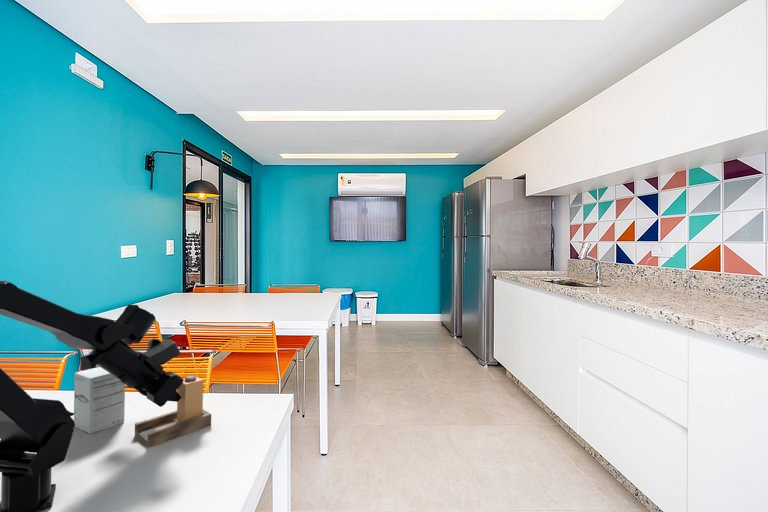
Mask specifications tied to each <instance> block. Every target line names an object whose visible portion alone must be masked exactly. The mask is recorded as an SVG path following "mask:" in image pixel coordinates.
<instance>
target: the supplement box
mask: <svg viewBox="0 0 768 512" xmlns="http://www.w3.org/2000/svg"><path fill="white" fill-rule="evenodd" d="M73 392H74V394H73V396H74V397H73V413H74V415H73V420H74V422H75V427H74V428H77V429H79V430H82V431H83V432H84V433H85V432H86V433H87V434H88V435H92V434H94V433H97V432H101V431H103V430H106V429H108V428H111V427H114V426H118V425H119V424H121V423H122V424H123V423H124V422H125V401H126V400H125V398H126V384H124V383H122V382H121V380H120V379H118V378H117V377H115V376H114V375H112V374H110V373H109V372H107V371H106V370H104V369H103V368H101V367H99V366H97V367H95V368H93V369H89V370H84V371H81V370H80V371H76V372H74V391H73Z"/></svg>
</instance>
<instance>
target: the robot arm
mask: <svg viewBox="0 0 768 512" xmlns="http://www.w3.org/2000/svg"><path fill="white" fill-rule="evenodd" d="M0 315H1V316H4V317H7V318H10V319H11V320H12V319H13V320H15V321H17V322H21V323H22V324H23V323H24V324H26V325H30V326H33V327H35V328H37V329H38V328H39V329H41V330H43V331H46V332H49V333H51V334H52V335H53V336H54V337H55V339H56V340H57V341H58V342H60V343H62V344H63V345H65V346H66V347H69V348H71V349H78V350H79V349H81V350H91V351H90V352H89V353H88V354H85V355H81V356H80V357H79V359H80V365H79V367H80V368H79V370H80V371H84V370H89V369H93V368H97V367H101V368H103V369H104V370H106V371H107V372H109V373H110V374H112V375H114V376H115V377H117V378H118V379H120V380H121V382H122V383H124V384H125V386H127V387H129V388H130V389H134V390H135V391H137V392H138V393H139V394H140V395H142V396H144V397H146V399H147V400H149V401H150V402H152V403H154V404H155V405H156V406H158V407H161V408H162V407H163V406H165V405H166V403H167V402H176V403H177V402H178V401H179V400H180V399H181V396H180V395H179V394H178V392H177V389H178V388H179V387H180V386H181V384H182V383H183V381H184V379H185V378H183V377H181V376H180V375H179V374H176V373H175V372H172V371H167V372H166V370H164V365H165V364H167V363H168V362H169V361H171V360H173V359H174V358H178V357H179V356H180V355H181V350H180V349H179V347H178V346H177V343H176V341H174V340H172V339H169V338H167V339H162V341H161V340H159V339H158V338H152V339H151V340H149V341H148V343H147V349H146V351H144V352H143V353H142V352H140V351H138V350H135V349H133V348H132V347H131V345H133V344H139V343H140V342H141V341H142V340H143V338H145V336H146V334H147V333H149V330H150V329H151V328H152V326H153V325H154V323H155V322H156V316H155V315H154V314H153V313H151V312H149V311H148V310H146V309H144V308H142V307H140V306H139V305H138V304H127V306H125V309H124V310H123V311H122V312H121V314H120V315H119V317H118V318H117V319H116V320H113V319H111V318H106V317H101V316H98V315H97V316H95V315H89V314H83V313H78V312H76V311H73V310H71V309H68V308H66V307H64V306H61V305H59V304H56V303H54V302H52V301H50V300H47V299H46V298H43V297H41V296H38V295H35V294H33V293H31V292H29V291H27V290H25V289H22V288H20V287H18V286H17V285H16V284H14V283H12V282H10V281H7V280H0ZM96 366H97V367H96ZM73 417H74V412H71V411H70V410H68V409H67V408H66V406H65V405H64V403H63V402H62V401H60V400H59V399H58V400H57V399H46V398H34V397H32V396H30V394H28V393H27V392H26V390H25V389H24V388H22V387H21V386H20V385H19V384H18V383H17V382H16V381H15V380H14V379H13V378H12V377H11V376H9V374H8V373H6V372H5V371H4V370H3V368H1V367H0V473H1V483H0V484H1V485H0V486H1V488H0V491H1V492H0V493H1V494H0V495H1V496H0V499H1V500H0V512H39V511H42V510H46V509H49V508H51V507H52V506H53V503H54V498H55V495H56V494H55V493H56V488H57V484H56V483H52V469H53V468H54V467H55V466H57V465H59V464H60V463H62V462H64V461H65V460H66V456H67V453H68V450H69V447H70V444H71V442H72V437H73V435H74V428H76V427H75V422H74V418H73Z"/></svg>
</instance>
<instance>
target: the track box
mask: <svg viewBox="0 0 768 512" xmlns="http://www.w3.org/2000/svg"><path fill="white" fill-rule="evenodd" d="M211 426H212V413H210V412H208V411H207V410H205V409H203V415H201V416H198V417H195V418H192V419H189V420H186V421H184V422H181V421H180V420H178V419H177V410H174V411H171V412H167V413H164V414H162V415H158V416H154V417H152V418H149V419H146V420H145V419H144V420H142V421H139V422H136V423H134V437H136V439H138V441H140V442H141V443H143V444H144V446H146V447H147V448H149V449H151V448H155V447H156V446H159V445H162V444H164V443H167V442H169V441H173V440H176V439H178V438H180V437H183V436H187V435H189V434H192V433H195V432H197V431H199V430H202V429H205V428H208V427H211Z"/></svg>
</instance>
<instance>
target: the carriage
mask: <svg viewBox="0 0 768 512" xmlns="http://www.w3.org/2000/svg"><path fill="white" fill-rule="evenodd" d="M183 379H184V381H183V383H182V384H181V386H180V387H179V388H178V389H177V390H176V391H177V392H178V394H179V395H180V396H181V399H180V400H179V401H178V402H176V405H177V406H176V411H177V419H178V420H180V421H181V422H184V421H186V420H189V419H192V418H195V417H198V416H201V415H203V410H204V408H203V407H204V405H203V404H204V402H203V400H204V379H203V378H200V377H197V376H196V375H188V376H186V377H184V378H183Z"/></svg>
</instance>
